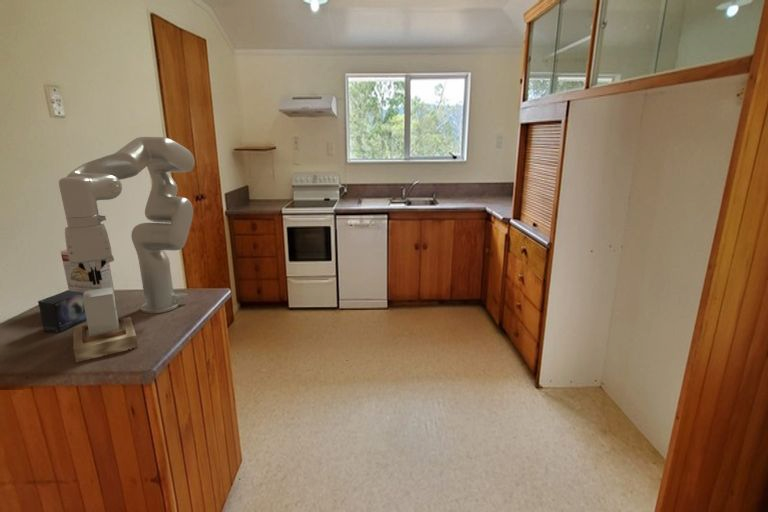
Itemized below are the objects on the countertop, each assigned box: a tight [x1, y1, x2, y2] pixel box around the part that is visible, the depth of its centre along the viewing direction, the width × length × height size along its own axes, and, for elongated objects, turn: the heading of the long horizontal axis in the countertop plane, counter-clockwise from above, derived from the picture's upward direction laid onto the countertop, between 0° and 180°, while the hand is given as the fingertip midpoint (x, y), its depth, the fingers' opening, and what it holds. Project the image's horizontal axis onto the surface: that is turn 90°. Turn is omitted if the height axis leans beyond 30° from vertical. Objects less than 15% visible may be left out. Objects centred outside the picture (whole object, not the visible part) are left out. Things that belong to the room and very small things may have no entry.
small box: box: [37, 289, 87, 334], centre depth 135 cm, size 11×6×10 cm, turn 168°
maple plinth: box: [72, 316, 139, 363], centre depth 124 cm, size 15×16×5 cm
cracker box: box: [60, 248, 117, 302], centre depth 152 cm, size 14×6×21 cm, turn 82°
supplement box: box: [83, 286, 119, 337], centre depth 122 cm, size 7×7×13 cm
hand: (96, 283), depth 120 cm, fingers closed
